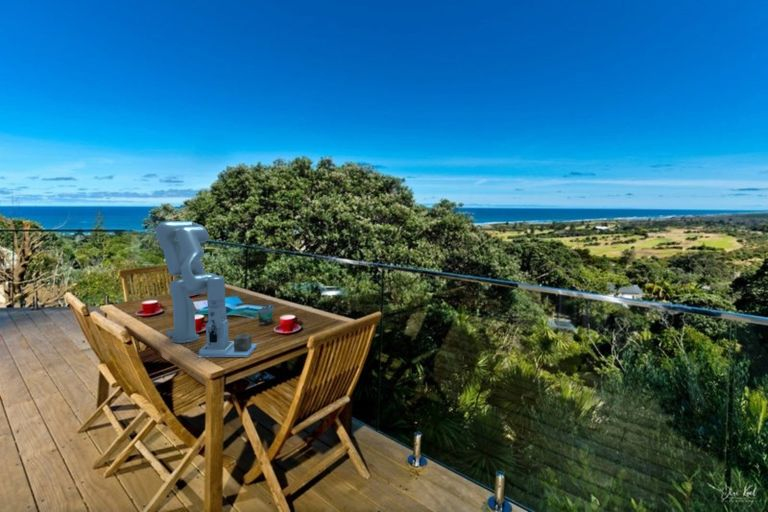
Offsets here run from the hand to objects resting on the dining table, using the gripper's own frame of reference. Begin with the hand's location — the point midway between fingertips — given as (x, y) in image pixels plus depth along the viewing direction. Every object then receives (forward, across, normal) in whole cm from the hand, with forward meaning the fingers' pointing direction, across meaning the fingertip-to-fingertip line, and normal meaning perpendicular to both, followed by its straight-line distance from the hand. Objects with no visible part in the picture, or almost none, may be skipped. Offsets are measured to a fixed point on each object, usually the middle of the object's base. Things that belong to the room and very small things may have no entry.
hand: (217, 338), depth 179 cm
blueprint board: (+6, 0, -5) cm, 8 cm away
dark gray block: (+5, 0, -12) cm, 12 cm away
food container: (+6, +44, -11) cm, 46 cm away
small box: (+5, 0, 0) cm, 5 cm away
